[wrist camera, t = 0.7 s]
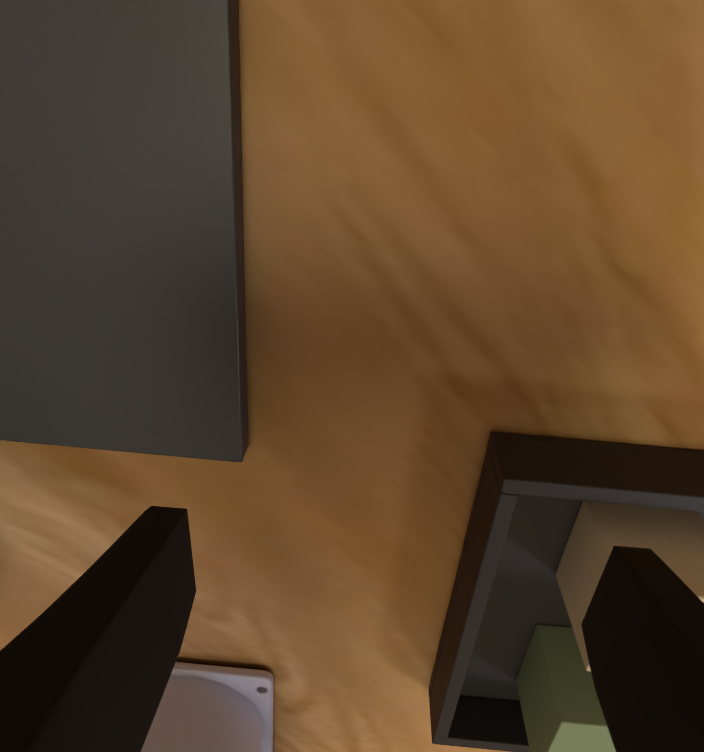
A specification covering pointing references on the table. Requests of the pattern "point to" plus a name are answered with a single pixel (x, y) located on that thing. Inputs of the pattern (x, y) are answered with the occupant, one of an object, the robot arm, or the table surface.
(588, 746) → the sage block
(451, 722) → the tray
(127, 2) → the board
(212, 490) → the table surface
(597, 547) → the cream block
